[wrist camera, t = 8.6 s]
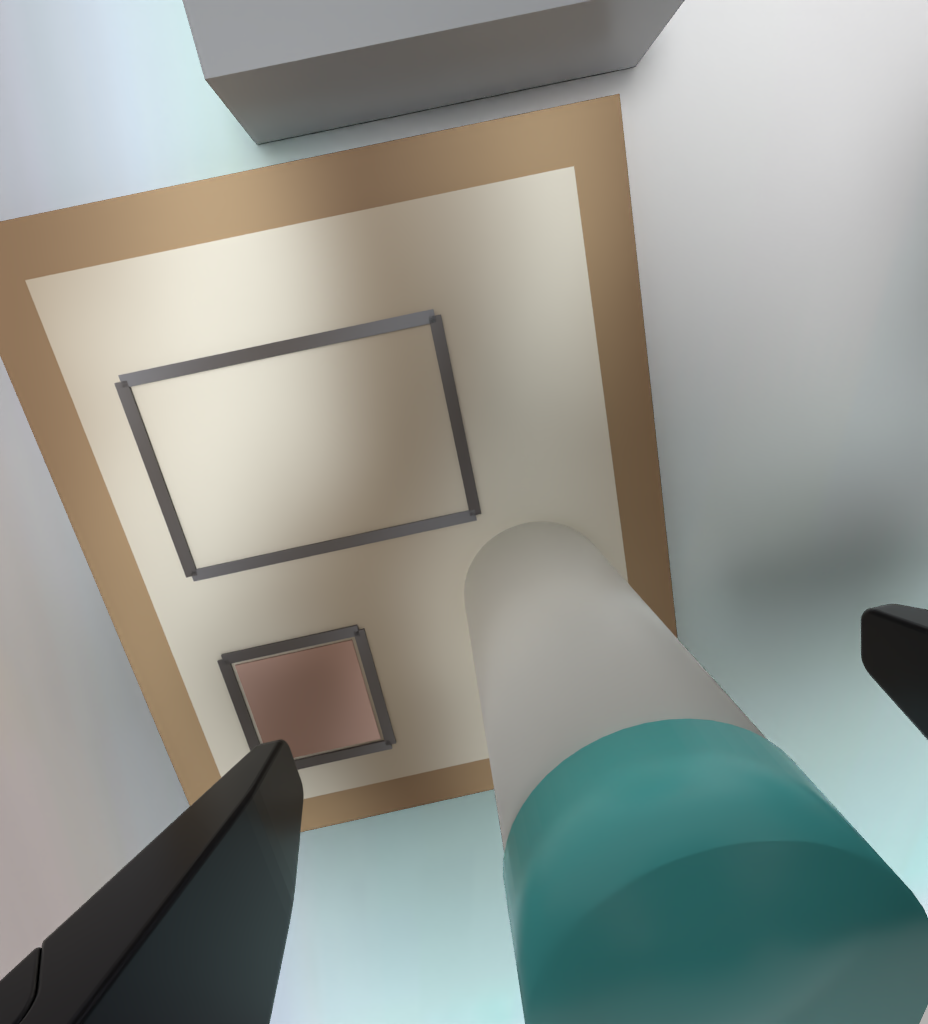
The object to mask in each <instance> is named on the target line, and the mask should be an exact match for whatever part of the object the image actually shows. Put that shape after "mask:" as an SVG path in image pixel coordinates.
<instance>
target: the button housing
mask: <svg viewBox="0 0 928 1024" xmlns="http://www.w3.org/2000/svg"><path fill="white" fill-rule="evenodd" d="M683 2H684V0H183V4H184V7H185V11H186V14H187V18H188V21H189V25H190V28H191V32H192V35H193V39H194V42H195V46H196V50H197V53H198V57H199V60H200V64H201V67H202V71H203V74H204V78H205V80H206V81H207V82H208V84H209V85H210V86H211V88H212V89H213V90H214V91H215V93H216V94H217V95H218V96H219V98H220V99H221V100H222V101H223V103H224V104H225V105H226V107H227V108H228V109H229V110H230V112H231V113H232V114H233V115H234V117H235V118H236V119H237V120H238V122H239V123H240V124H241V125H242V127H243V128H244V129H245V131H246V132H247V133H248V134H249V136H250V137H251V138H252V139H253V141H254V142H255V143H256V144H261V143H266V142H271V141H276V140H281V139H285V138H290V137H295V136H300V135H305V134H310V133H315V132H319V131H324V130H329V129H334V128H339V127H344V126H349V125H353V124H358V123H363V122H368V121H373V120H378V119H382V118H387V117H392V116H397V115H402V114H407V113H412V112H416V111H421V110H426V109H431V108H436V107H441V106H446V105H450V104H455V103H460V102H465V101H470V100H475V99H480V98H484V97H489V96H494V95H499V94H504V93H509V92H514V91H518V90H523V89H528V88H533V87H538V86H543V85H548V84H552V83H557V82H562V81H567V80H572V79H577V78H582V77H586V76H591V75H596V74H601V73H606V72H611V71H616V70H620V69H625V68H630V67H635V66H636V65H637V64H638V62H639V61H640V60H641V58H642V57H643V56H644V54H645V53H646V52H647V50H648V49H649V47H650V46H651V45H652V43H653V42H654V41H655V39H656V38H657V37H658V35H659V34H660V33H661V31H662V30H663V29H664V27H665V26H666V25H667V23H668V22H669V20H670V19H671V18H672V16H673V15H674V14H675V12H676V11H677V10H678V8H679V7H680V6H681V4H682V3H683Z"/></svg>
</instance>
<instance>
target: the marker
mask: <svg viewBox="0 0 928 1024" xmlns="http://www.w3.org/2000/svg"><path fill="white" fill-rule="evenodd" d="M464 602H465V609H466V615H467V621H468V627H469V634H470V640H471V646H472V653H473V659H474V665H475V672H476V678H477V684H478V690H479V697H480V703H481V709H482V716H483V722H484V728H485V735H486V741H487V747H488V753H489V760H490V766H491V772H492V779H493V785H494V791H495V798H496V804H497V810H498V816H499V823H500V829H501V835H502V842H503V848H504V858H503V878H504V885H505V892H506V898H507V905H508V912H509V918H510V925H511V932H512V938H513V945H514V952H515V958H516V965H517V972H518V979H519V985H520V992H521V999H522V1005H523V1012H524V1019H525V1024H919V1023H920V1020H921V1018H922V1016H923V1014H924V1012H925V1010H926V1007H927V1005H928V917H927V915H926V913H925V910H924V908H923V907H922V905H921V904H920V903H919V901H918V900H917V898H916V897H915V895H914V894H913V893H912V891H911V890H910V889H909V888H908V887H907V886H906V885H905V884H904V882H903V881H902V880H901V879H900V878H899V877H898V876H897V875H896V874H895V873H894V871H893V870H892V869H891V868H890V867H889V866H888V865H887V864H886V863H885V862H884V860H883V859H882V858H881V857H880V856H879V855H878V854H877V853H876V852H875V851H874V849H873V848H872V847H871V846H870V845H869V844H868V843H867V842H866V841H865V840H864V838H863V837H862V836H861V835H860V834H859V833H858V832H857V831H856V830H855V829H854V827H853V826H852V825H851V824H850V823H849V822H848V821H847V820H846V819H845V818H844V816H843V815H842V814H841V813H840V812H839V811H838V810H837V809H836V808H835V806H834V805H833V804H832V803H831V802H830V801H829V800H828V799H827V798H826V797H825V795H824V794H823V793H822V792H821V791H820V790H819V789H818V788H817V787H816V786H815V784H814V783H813V782H812V781H811V780H810V779H809V778H808V777H807V776H806V775H805V773H804V772H803V771H802V770H801V769H800V768H799V767H798V766H797V765H796V764H795V762H794V761H793V760H792V759H791V758H790V757H788V756H787V755H786V754H785V753H784V752H783V751H782V750H781V749H780V748H778V747H777V746H776V745H774V744H773V743H771V742H770V741H769V740H767V739H766V738H765V736H764V735H763V734H762V733H761V732H760V731H759V730H758V729H757V727H756V726H755V725H754V724H753V723H752V722H751V721H750V720H749V718H748V717H747V716H746V715H745V714H744V713H743V712H742V711H741V709H740V708H739V707H738V706H737V705H736V704H735V703H734V702H733V701H732V699H731V698H730V697H729V696H728V695H727V694H726V693H725V692H724V690H723V689H722V688H721V687H720V686H719V685H718V684H717V683H716V681H715V680H714V679H713V678H712V677H711V676H710V675H709V674H708V672H707V671H706V670H705V669H704V668H703V667H702V666H701V665H700V663H699V662H698V661H697V660H696V659H695V658H694V657H693V656H692V655H691V653H690V652H689V651H688V650H687V649H686V648H685V647H684V646H683V644H682V643H681V642H680V641H679V640H678V639H677V638H676V637H675V635H674V634H673V633H672V632H671V631H670V630H669V629H668V628H667V626H666V625H665V624H664V623H663V622H662V621H661V620H660V619H659V617H658V616H657V615H656V614H655V613H654V612H653V611H652V610H651V608H650V607H649V606H648V605H647V604H646V603H645V602H644V601H643V600H642V598H641V597H640V596H639V595H638V594H637V593H636V592H635V591H634V589H633V588H632V587H631V586H630V585H629V584H628V583H627V582H626V580H625V579H624V578H623V577H622V576H621V575H620V574H619V573H618V571H617V570H616V569H615V568H614V567H613V566H612V565H611V564H610V562H609V561H608V560H607V559H606V558H605V557H604V556H603V555H602V554H601V552H600V551H599V550H598V549H597V548H596V547H595V546H594V545H593V544H592V543H591V542H590V541H589V540H588V539H587V538H586V537H585V536H584V535H582V534H581V533H580V532H578V531H576V530H574V529H572V528H570V527H567V526H565V525H562V524H558V523H553V522H529V523H523V524H520V525H516V526H513V527H511V528H509V529H506V530H504V531H503V532H501V533H499V534H497V535H496V536H495V537H493V538H492V539H491V540H489V541H488V542H487V543H486V544H485V545H484V546H483V547H482V548H481V550H480V551H479V552H478V553H477V555H476V556H475V558H474V559H473V561H472V563H471V565H470V567H469V570H468V572H467V576H466V579H465V585H464Z"/></svg>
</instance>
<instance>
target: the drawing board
mask: <svg viewBox="0 0 928 1024" xmlns="http://www.w3.org/2000/svg"><path fill="white" fill-rule="evenodd" d="M0 356H1V358H2V361H3V363H4V365H5V368H6V370H7V373H8V375H9V377H10V380H11V382H12V384H13V387H14V389H15V392H16V394H17V396H18V399H19V401H20V403H21V406H22V408H23V411H24V413H25V415H26V418H27V420H28V422H29V425H30V427H31V430H32V432H33V434H34V437H35V439H36V441H37V444H38V446H39V449H40V451H41V453H42V456H43V458H44V460H45V463H46V465H47V468H48V470H49V472H50V475H51V477H52V479H53V482H54V484H55V487H56V489H57V491H58V494H59V496H60V498H61V501H62V503H63V506H64V508H65V510H66V513H67V515H68V517H69V520H70V522H71V525H72V527H73V529H74V532H75V534H76V536H77V539H78V541H79V544H80V546H81V548H82V551H83V553H84V555H85V558H86V560H87V563H88V565H89V567H90V570H91V572H92V574H93V577H94V579H95V582H96V584H97V586H98V589H99V591H100V593H101V596H102V598H103V601H104V603H105V605H106V608H107V610H108V612H109V615H110V617H111V620H112V622H113V624H114V627H115V629H116V631H117V634H118V636H119V639H120V641H121V643H122V646H123V648H124V650H125V653H126V655H127V658H128V660H129V662H130V665H131V667H132V669H133V672H134V674H135V677H136V679H137V681H138V684H139V686H140V688H141V691H142V693H143V696H144V698H145V700H146V703H147V705H148V707H149V710H150V712H151V715H152V717H153V719H154V722H155V724H156V726H157V729H158V731H159V734H160V736H161V738H162V741H163V743H164V745H165V748H166V750H167V753H168V755H169V757H170V760H171V762H172V764H173V767H174V769H175V772H176V774H177V776H178V779H179V781H180V783H181V786H182V788H183V791H184V793H185V795H186V798H187V800H188V802H189V805H190V806H191V805H192V804H193V803H194V802H195V801H196V800H198V799H199V798H200V797H201V796H202V795H203V794H204V793H205V792H206V791H207V790H208V789H209V788H211V787H212V786H213V785H214V784H215V783H216V782H217V781H218V780H219V779H220V778H221V777H223V776H224V775H225V774H226V773H227V772H228V771H229V770H230V769H231V768H232V767H233V766H234V765H236V764H237V763H238V762H239V761H240V760H241V759H242V758H243V757H244V756H245V755H246V754H248V753H249V752H250V751H251V750H252V749H253V748H254V747H255V746H256V745H258V744H261V743H266V742H270V741H275V740H280V739H282V740H285V741H286V742H287V743H288V745H289V747H290V749H291V752H292V755H293V758H294V761H295V764H296V767H297V770H298V773H299V775H300V778H301V781H302V785H303V793H304V799H303V810H302V821H301V831H300V832H304V831H308V830H313V829H317V828H322V827H326V826H331V825H335V824H340V823H344V822H349V821H353V820H358V819H362V818H366V817H371V816H375V815H380V814H384V813H389V812H393V811H398V810H402V809H407V808H411V807H416V806H420V805H425V804H429V803H434V802H438V801H443V800H447V799H452V798H456V797H461V796H465V795H470V794H474V793H479V792H483V791H488V790H492V789H494V785H493V779H492V772H491V766H490V760H489V753H488V747H487V741H486V735H485V728H484V722H483V716H482V709H481V703H480V697H479V690H478V684H477V678H476V672H475V665H474V659H473V653H472V646H471V640H470V634H469V627H468V621H467V615H466V609H465V602H464V585H465V579H466V576H467V572H468V570H469V567H470V565H471V563H472V561H473V559H474V558H475V556H476V555H477V553H478V552H479V551H480V550H481V548H482V547H483V546H484V545H485V544H486V543H487V542H488V541H489V540H491V539H492V538H493V537H495V536H496V535H497V534H499V533H501V532H503V531H504V530H506V529H509V528H511V527H513V526H516V525H520V524H523V523H529V522H553V523H558V524H562V525H565V526H567V527H570V528H572V529H574V530H576V531H578V532H580V533H581V534H582V535H584V536H585V537H586V538H587V539H588V540H589V541H590V542H591V543H592V544H593V545H594V546H595V547H596V548H597V549H598V550H599V551H600V552H601V554H602V555H603V556H604V557H605V558H606V559H607V560H608V561H609V562H610V564H611V565H612V566H613V567H614V568H615V569H616V570H617V571H618V573H619V574H620V575H621V576H622V577H623V578H624V579H625V580H626V582H627V583H628V584H629V585H630V586H631V587H632V588H633V589H634V591H635V592H636V593H637V594H638V595H639V596H640V597H641V598H642V600H643V601H644V602H645V603H646V604H647V605H648V606H649V607H650V608H651V610H652V611H653V612H654V613H655V614H656V615H657V616H658V617H659V619H660V620H661V621H662V622H663V623H664V624H665V625H666V626H667V628H668V629H669V630H670V631H671V632H672V633H673V634H674V635H675V637H676V638H677V629H676V620H675V610H674V601H673V592H672V582H671V573H670V563H669V554H668V545H667V535H666V526H665V517H664V507H663V498H662V488H661V479H660V470H659V460H658V451H657V441H656V432H655V423H654V413H653V404H652V395H651V385H650V376H649V366H648V357H647V348H646V338H645V329H644V319H643V310H642V301H641V291H640V282H639V273H638V263H637V254H636V244H635V235H634V226H633V216H632V207H631V197H630V188H629V179H628V169H627V160H626V151H625V141H624V132H623V122H622V113H621V104H620V94H616V95H611V96H606V97H601V98H596V99H592V100H587V101H582V102H577V103H572V104H567V105H562V106H558V107H553V108H548V109H543V110H538V111H533V112H529V113H524V114H519V115H514V116H509V117H504V118H500V119H495V120H490V121H485V122H480V123H475V124H470V125H466V126H461V127H456V128H451V129H446V130H441V131H437V132H432V133H427V134H422V135H417V136H412V137H408V138H403V139H398V140H393V141H388V142H383V143H378V144H374V145H369V146H364V147H359V148H354V149H349V150H345V151H340V152H335V153H330V154H325V155H320V156H316V157H311V158H306V159H301V160H296V161H291V162H286V163H282V164H277V165H272V166H267V167H262V168H257V169H253V170H248V171H243V172H238V173H233V174H228V175H224V176H219V177H214V178H209V179H204V180H199V181H194V182H190V183H185V184H180V185H175V186H170V187H165V188H161V189H156V190H151V191H146V192H141V193H136V194H132V195H127V196H122V197H117V198H112V199H107V200H103V201H98V202H93V203H88V204H83V205H78V206H73V207H69V208H64V209H59V210H54V211H49V212H44V213H40V214H35V215H30V216H25V217H20V218H15V219H11V220H6V221H1V222H0Z"/></svg>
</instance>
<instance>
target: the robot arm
mask: <svg viewBox="0 0 928 1024" xmlns="http://www.w3.org/2000/svg"><path fill="white" fill-rule="evenodd" d="M861 658H862V662H863V664H864V667H865V668H866V670H867V672H868V673H869V674H870V676H871V677H872V678H873V679H874V680H875V681H876V682H877V683H878V685H879V686H880V687H881V688H882V689H883V690H884V691H885V692H886V693H887V695H888V696H889V697H890V698H891V699H892V700H893V701H894V702H895V704H896V705H897V706H898V707H899V708H900V709H901V710H902V711H903V713H904V714H905V715H906V716H907V717H908V718H909V719H910V720H911V721H912V723H913V724H914V725H915V726H916V727H917V728H918V729H919V730H920V732H921V733H922V734H923V735H924V736H925V737H926V738H927V739H928V610H926V609H921V608H915V607H910V606H904V605H898V604H887V605H883V606H878V607H874V608H869V609H867V610H866V611H864V613H863V614H862V617H861ZM303 799H304V793H303V785H302V781H301V778H300V775H299V773H298V770H297V767H296V764H295V761H294V758H293V755H292V752H291V749H290V747H289V745H288V743H287V742H286V741H285V740H282V739H280V740H275V741H270V742H266V743H261V744H258V745H256V746H255V747H254V748H253V749H252V750H251V751H250V752H249V753H248V754H246V755H245V756H244V757H243V758H242V759H241V760H240V761H239V762H238V763H237V764H236V765H234V766H233V767H232V768H231V769H230V770H229V771H228V772H227V773H226V774H225V775H224V776H223V777H221V778H220V779H219V780H218V781H217V782H216V783H215V784H214V785H213V786H212V787H211V788H209V789H208V790H207V791H206V792H205V793H204V794H203V795H202V796H201V797H200V798H199V799H198V800H196V801H195V802H194V803H193V804H192V805H191V806H190V807H189V808H188V809H187V810H186V811H184V812H183V813H182V814H181V815H180V816H179V817H178V818H177V819H176V820H175V821H174V822H173V823H171V824H170V825H169V826H168V827H167V828H166V829H165V830H164V831H163V832H162V833H161V834H159V835H158V836H157V837H156V838H155V839H154V840H153V841H152V842H151V843H150V844H149V845H147V846H146V847H145V848H144V849H143V850H142V851H141V852H140V853H139V854H138V855H137V856H136V857H134V858H133V859H132V860H131V861H130V862H129V863H128V864H127V865H126V866H125V867H124V868H122V869H121V870H120V871H119V872H118V873H117V874H116V875H115V876H114V877H113V878H112V879H111V880H109V881H108V882H107V883H106V884H105V885H104V886H103V887H102V888H101V889H100V890H99V891H97V892H96V893H95V894H94V895H93V896H92V897H91V898H90V899H89V900H88V901H87V902H86V903H84V904H83V905H82V906H81V907H80V908H79V909H78V910H77V911H76V912H75V913H74V914H72V915H71V916H70V917H69V918H68V919H67V920H66V921H65V922H64V923H63V924H62V925H61V926H59V927H58V928H57V929H56V930H55V931H54V932H53V933H52V934H51V935H50V936H49V937H47V938H46V939H45V940H44V941H43V943H42V948H40V947H38V948H36V949H34V950H33V951H32V952H31V953H30V954H29V955H28V956H27V957H26V958H24V959H23V960H22V961H21V962H20V963H19V964H18V965H17V966H16V967H15V968H14V969H13V970H12V971H10V972H9V973H8V974H7V975H6V976H5V977H4V978H3V979H2V980H1V981H0V1024H269V1023H270V1018H271V1013H272V1008H273V1003H274V999H275V994H276V989H277V984H278V979H279V974H280V969H281V964H282V959H283V954H284V949H285V944H286V939H287V934H288V929H289V924H290V919H291V913H292V907H293V901H294V892H295V883H296V873H297V863H298V852H299V842H300V831H301V821H302V810H303Z"/></svg>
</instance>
